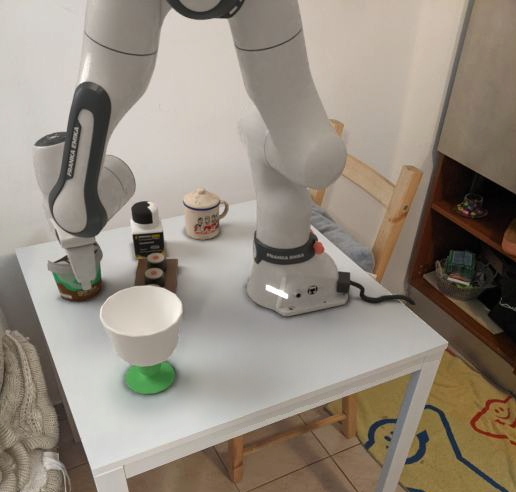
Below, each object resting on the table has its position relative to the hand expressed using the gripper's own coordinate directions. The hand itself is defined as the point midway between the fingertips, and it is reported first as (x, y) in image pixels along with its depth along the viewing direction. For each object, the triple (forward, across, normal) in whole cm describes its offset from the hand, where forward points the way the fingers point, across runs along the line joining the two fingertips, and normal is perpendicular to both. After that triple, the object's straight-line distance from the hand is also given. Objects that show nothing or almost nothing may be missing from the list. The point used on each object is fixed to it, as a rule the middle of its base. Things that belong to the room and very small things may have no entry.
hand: (82, 275), depth 118 cm
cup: (+4, +30, +6) cm, 31 cm away
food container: (+4, +1, 0) cm, 5 cm away
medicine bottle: (+4, -12, +17) cm, 21 cm away
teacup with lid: (+5, -16, +34) cm, 38 cm away
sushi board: (+4, +5, +14) cm, 16 cm away
